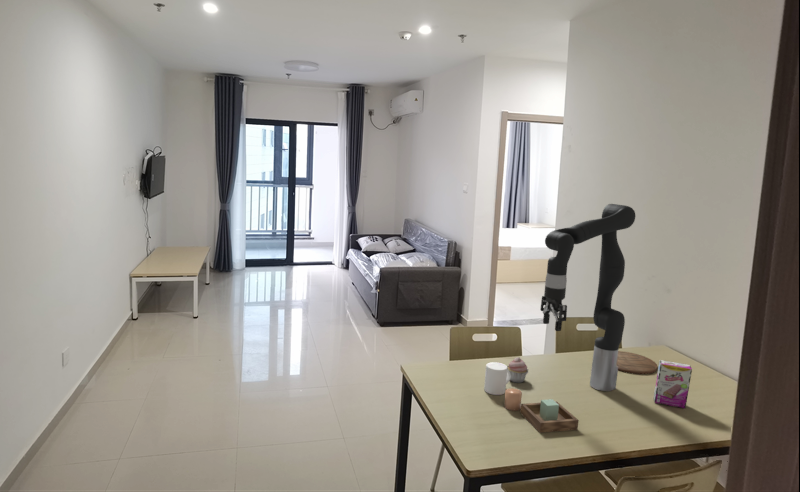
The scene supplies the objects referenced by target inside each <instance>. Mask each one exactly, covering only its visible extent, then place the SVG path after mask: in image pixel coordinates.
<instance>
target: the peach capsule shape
mask: <svg viewBox="0 0 800 492" xmlns="http://www.w3.org/2000/svg"><path fill="white" fill-rule="evenodd" d="M522 397H523V392H522V390H520V389H518V388H511V387H509V388H506V389H505V393H504V404H503V407H504V409H506V410H509V411H512V412H513V411H514V412H517V411H521V404H522Z"/></svg>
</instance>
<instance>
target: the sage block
mask: <svg viewBox="0 0 800 492" xmlns="http://www.w3.org/2000/svg"><path fill="white" fill-rule="evenodd" d="M540 403H541V406H540V415H539V416H540V417H541V418H542V419H543V420H544V421H551V420H557V419H558V410H559V404H560V403H559V404H557V403H556V401H555V400H554V399H553V398H552V399H541V400H540Z"/></svg>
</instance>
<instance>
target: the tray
mask: <svg viewBox="0 0 800 492" xmlns="http://www.w3.org/2000/svg"><path fill="white" fill-rule="evenodd" d="M555 402H556V403H557V404H559V410H558V419H557V420H551V421H544V420H543V419H542V418H541V417H540V416H539V415H540V406H541V402H531V403H530V402H529V403H521V409H520V410H519V411H520V414H521V415H522V416H523V418H524V419H526V420H527V421H528V423H530V424H531V426H533V428H535V429H536V430H537V432H538V433H539V434H541V433H551V432H552V433H553V432H564V431H565V432H568V431H578V429H579V428H578V427H579V422H580V421H579V419H578V418H577V417H575V416H574V415H573V414H572V413H571V412H570V411H569V410H568V409H566V408H565V407H564V406H563V405H562V404H560V403H559V402H558V401H555Z"/></svg>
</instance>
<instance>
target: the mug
mask: <svg viewBox="0 0 800 492" xmlns="http://www.w3.org/2000/svg"><path fill="white" fill-rule="evenodd" d="M507 366H508V365H507V364H504V363H501V362H498V361H497V362H496V361H491V362H488V363H486V364H485V376H484V388H483V390H484V392H486V393H487V394H489V395H493V396H500V395H505V390H506V389H507V384H508V383H509V382H510V377H511V376H510V372H509V371H508V370H507Z"/></svg>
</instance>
